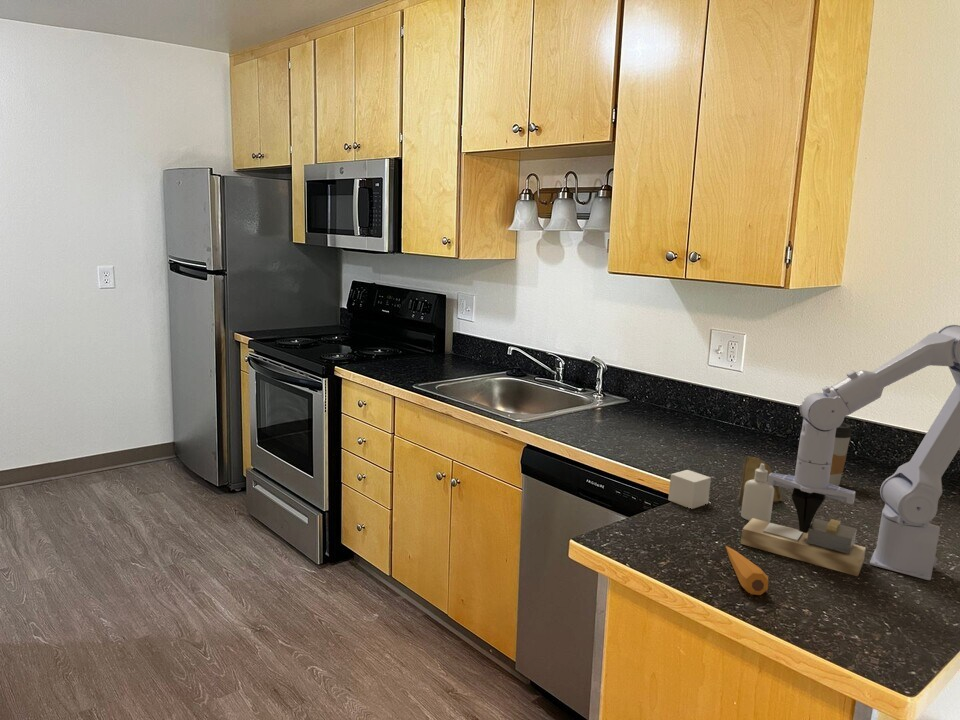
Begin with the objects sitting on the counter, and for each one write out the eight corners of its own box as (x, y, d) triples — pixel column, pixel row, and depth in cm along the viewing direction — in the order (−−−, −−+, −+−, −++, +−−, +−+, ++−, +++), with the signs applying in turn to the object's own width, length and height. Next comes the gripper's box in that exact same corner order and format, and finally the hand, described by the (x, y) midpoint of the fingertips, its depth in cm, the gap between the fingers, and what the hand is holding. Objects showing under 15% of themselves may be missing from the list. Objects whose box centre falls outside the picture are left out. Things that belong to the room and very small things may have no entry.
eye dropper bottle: (755, 514, 155) (762, 459, 153) (773, 524, 150) (781, 468, 147) (737, 515, 153) (744, 460, 151) (755, 526, 148) (762, 469, 146)
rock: (779, 484, 168) (734, 473, 169) (793, 463, 161) (746, 452, 163) (780, 525, 161) (733, 514, 162) (794, 505, 154) (746, 493, 155)
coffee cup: (848, 485, 177) (857, 424, 175) (836, 492, 171) (846, 430, 169) (812, 476, 183) (821, 417, 180) (800, 483, 177) (808, 422, 174)
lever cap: (854, 543, 134) (857, 523, 133) (849, 554, 129) (852, 533, 128) (813, 532, 138) (816, 513, 137) (806, 542, 133) (809, 522, 132)
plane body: (863, 562, 134) (866, 545, 133) (857, 576, 128) (860, 558, 128) (750, 532, 145) (752, 516, 144) (740, 543, 139) (742, 527, 139)
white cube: (668, 500, 160) (670, 474, 159) (684, 495, 164) (687, 469, 163) (691, 509, 156) (694, 482, 155) (708, 504, 159) (711, 477, 158)
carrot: (764, 604, 118) (777, 579, 118) (738, 591, 118) (752, 566, 118) (730, 561, 138) (742, 540, 138) (708, 550, 138) (720, 529, 138)
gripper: (767, 455, 134) (757, 526, 136) (855, 474, 126) (843, 549, 128) (776, 447, 140) (767, 515, 142) (861, 464, 132) (849, 536, 134)
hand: (804, 530), depth 136 cm, fingers closed
